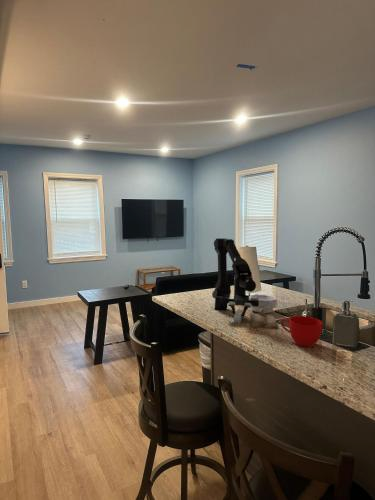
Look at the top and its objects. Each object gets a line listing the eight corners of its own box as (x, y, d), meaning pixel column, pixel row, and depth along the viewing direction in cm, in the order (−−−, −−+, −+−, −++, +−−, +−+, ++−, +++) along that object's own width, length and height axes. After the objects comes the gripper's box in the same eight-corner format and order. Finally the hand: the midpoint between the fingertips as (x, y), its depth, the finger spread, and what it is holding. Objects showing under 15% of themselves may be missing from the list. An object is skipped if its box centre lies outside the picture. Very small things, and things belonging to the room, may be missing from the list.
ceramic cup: (286, 334, 151) (287, 312, 150) (325, 344, 141) (327, 320, 140) (273, 341, 141) (275, 318, 140) (314, 353, 131) (316, 328, 130)
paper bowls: (266, 306, 198) (266, 293, 197) (281, 314, 183) (282, 299, 183) (243, 308, 192) (243, 294, 192) (257, 316, 178) (258, 301, 177)
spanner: (233, 323, 165) (233, 315, 165) (237, 316, 176) (237, 309, 175) (240, 323, 164) (240, 315, 164) (243, 317, 175) (243, 310, 174)
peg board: (251, 326, 160) (252, 318, 159) (250, 315, 179) (250, 307, 178) (277, 328, 158) (278, 320, 158) (273, 317, 177) (273, 309, 177)
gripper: (220, 289, 162) (219, 321, 163) (260, 292, 159) (258, 324, 161) (221, 285, 173) (220, 315, 174) (258, 287, 170) (257, 317, 172)
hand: (238, 318), depth 170 cm, fingers closed on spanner, 3 cm apart
